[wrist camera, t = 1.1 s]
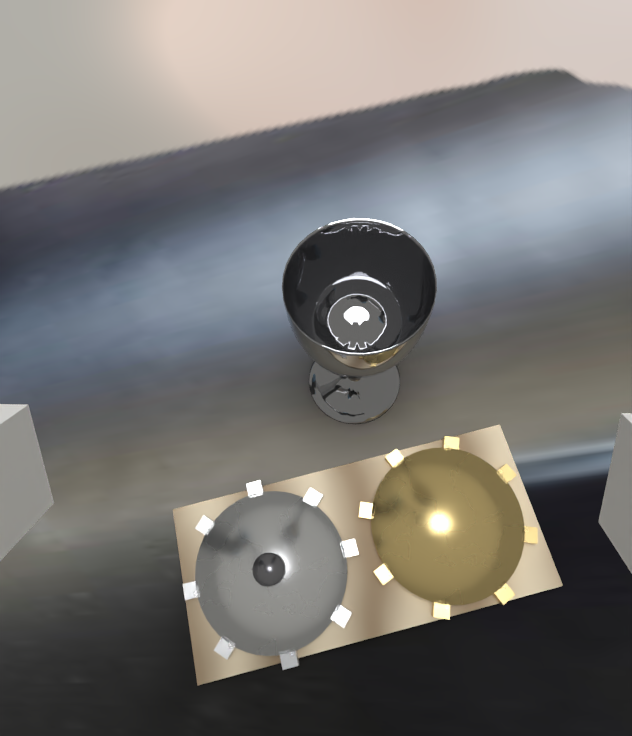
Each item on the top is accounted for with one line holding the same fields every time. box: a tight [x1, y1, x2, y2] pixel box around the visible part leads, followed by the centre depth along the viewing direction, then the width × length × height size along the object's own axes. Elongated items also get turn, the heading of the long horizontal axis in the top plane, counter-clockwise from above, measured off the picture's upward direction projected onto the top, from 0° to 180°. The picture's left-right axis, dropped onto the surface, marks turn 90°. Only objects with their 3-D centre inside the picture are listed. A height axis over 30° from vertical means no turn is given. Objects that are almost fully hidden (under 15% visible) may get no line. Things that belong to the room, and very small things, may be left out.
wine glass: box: [282, 218, 437, 424], centre depth 33 cm, size 8×8×15 cm
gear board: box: [173, 425, 563, 685], centre depth 34 cm, size 24×12×4 cm, turn 104°
